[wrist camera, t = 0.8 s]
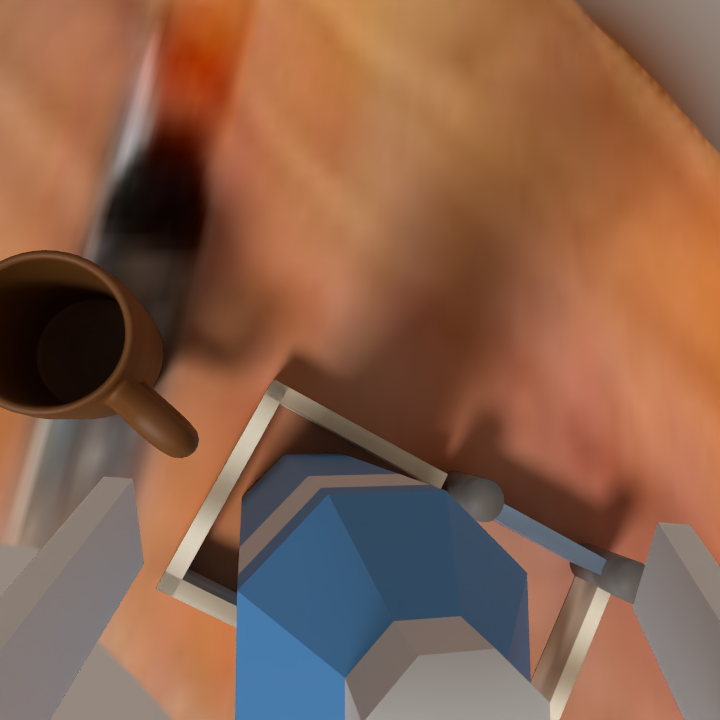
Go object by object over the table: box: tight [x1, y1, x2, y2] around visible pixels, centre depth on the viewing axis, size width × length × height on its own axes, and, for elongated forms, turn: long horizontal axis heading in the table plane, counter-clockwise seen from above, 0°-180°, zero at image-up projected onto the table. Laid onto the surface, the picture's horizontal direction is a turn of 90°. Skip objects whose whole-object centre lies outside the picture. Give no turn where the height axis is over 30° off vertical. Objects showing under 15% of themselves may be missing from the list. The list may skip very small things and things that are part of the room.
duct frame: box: [156, 379, 645, 720], centre depth 34 cm, size 14×26×5 cm, turn 62°
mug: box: [0, 250, 199, 458], centre depth 30 cm, size 12×8×9 cm, turn 49°
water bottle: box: [235, 453, 550, 720], centre depth 23 cm, size 9×9×25 cm
